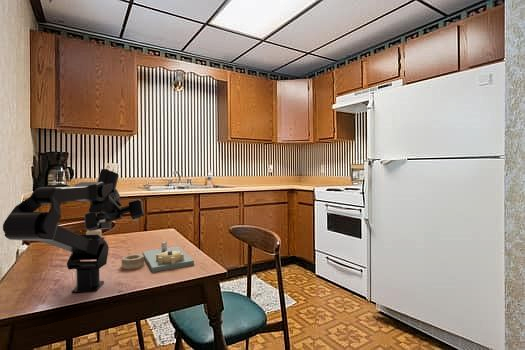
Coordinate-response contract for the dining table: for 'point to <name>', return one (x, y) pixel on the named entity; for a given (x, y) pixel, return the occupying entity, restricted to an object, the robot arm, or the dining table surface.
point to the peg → (163, 247)
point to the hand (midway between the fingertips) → (123, 223)
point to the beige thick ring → (132, 261)
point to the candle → (94, 232)
